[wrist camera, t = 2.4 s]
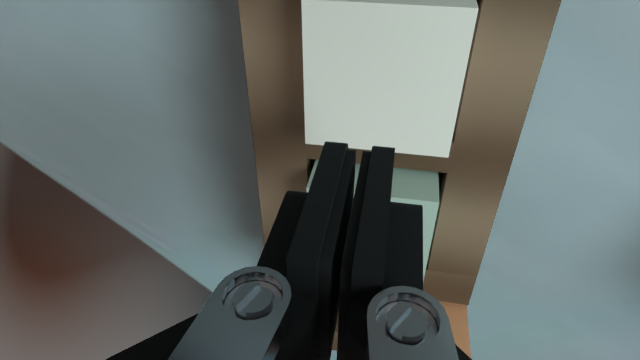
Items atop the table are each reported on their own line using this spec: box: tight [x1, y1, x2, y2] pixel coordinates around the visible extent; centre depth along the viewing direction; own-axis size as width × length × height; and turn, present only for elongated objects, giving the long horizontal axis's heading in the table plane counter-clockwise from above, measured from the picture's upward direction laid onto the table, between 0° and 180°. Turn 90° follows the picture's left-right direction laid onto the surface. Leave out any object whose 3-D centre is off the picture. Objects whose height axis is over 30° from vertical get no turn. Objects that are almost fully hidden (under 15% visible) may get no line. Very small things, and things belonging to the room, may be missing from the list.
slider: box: [439, 301, 471, 358], centre depth 23 cm, size 3×3×5 cm
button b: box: [306, 159, 439, 281], centre depth 20 cm, size 5×5×3 cm
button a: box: [301, 0, 479, 158], centre depth 16 cm, size 5×5×3 cm
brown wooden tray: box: [238, 0, 561, 350], centre depth 22 cm, size 21×10×4 cm, turn 0°
